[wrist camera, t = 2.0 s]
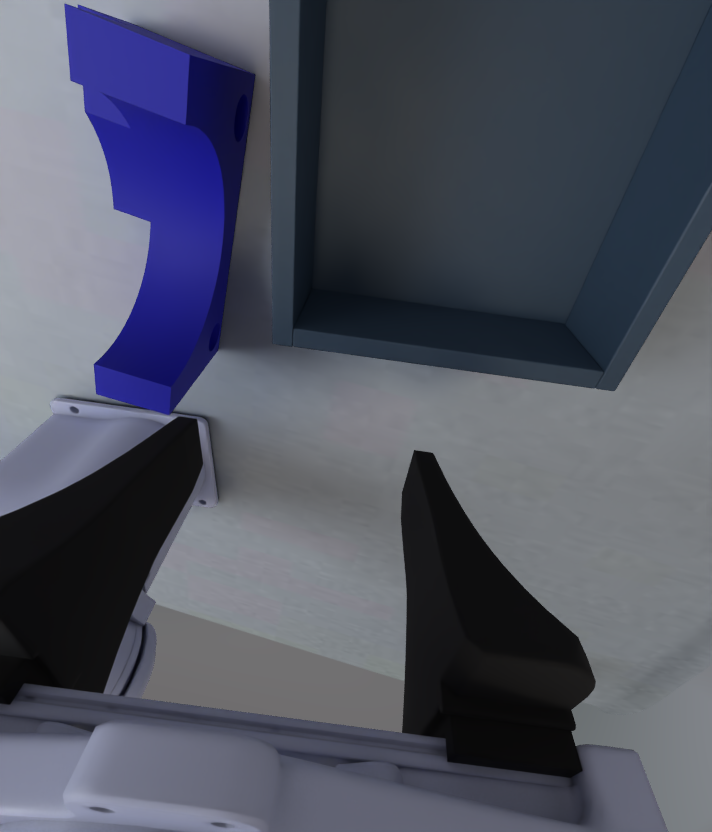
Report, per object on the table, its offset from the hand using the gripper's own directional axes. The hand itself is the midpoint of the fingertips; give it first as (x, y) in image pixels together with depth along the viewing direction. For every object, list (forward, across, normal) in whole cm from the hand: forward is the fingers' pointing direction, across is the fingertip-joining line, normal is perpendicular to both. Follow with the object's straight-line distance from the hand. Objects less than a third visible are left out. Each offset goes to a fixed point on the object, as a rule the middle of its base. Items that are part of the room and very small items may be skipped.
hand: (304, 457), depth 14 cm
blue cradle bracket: (+9, +7, -4) cm, 13 cm away
